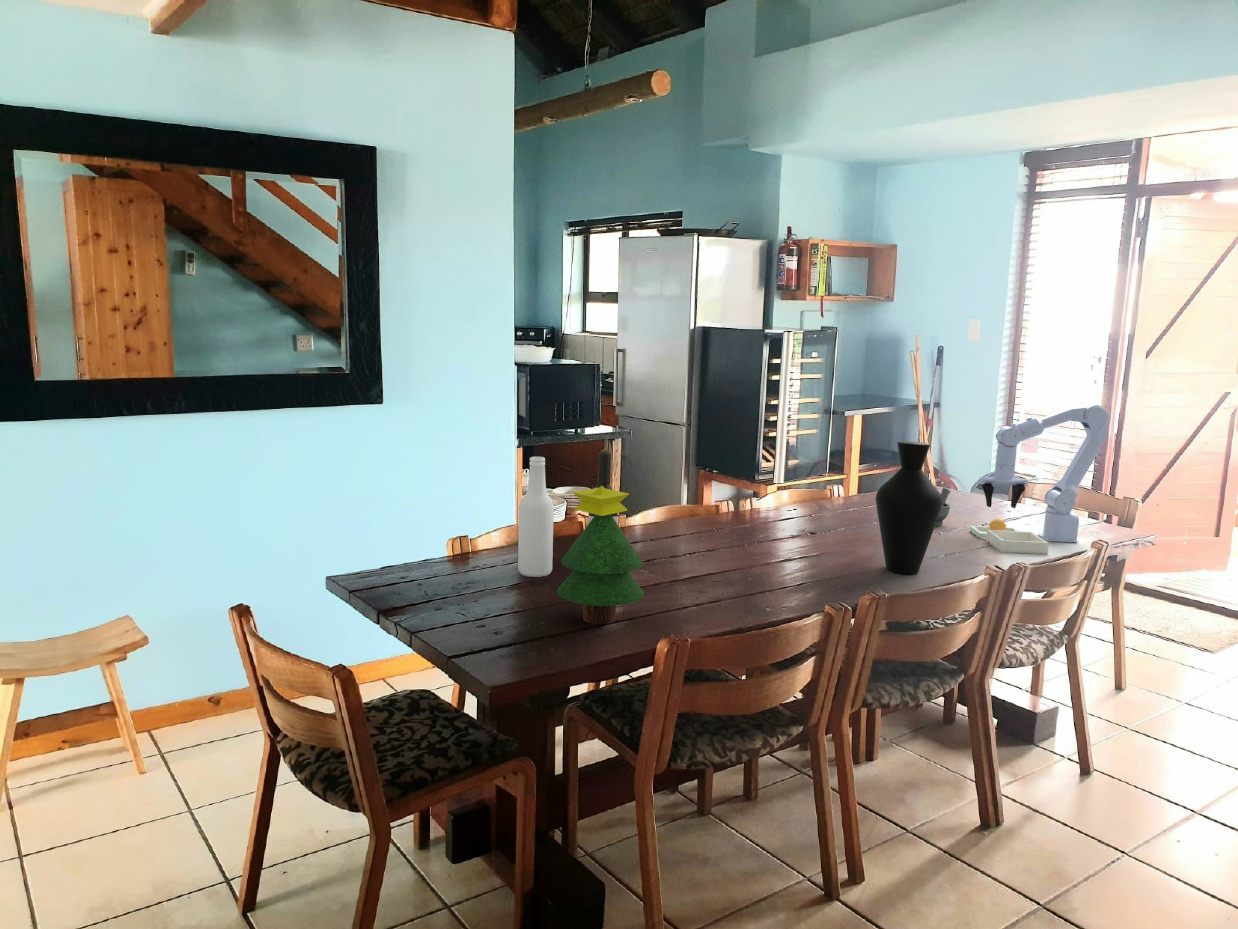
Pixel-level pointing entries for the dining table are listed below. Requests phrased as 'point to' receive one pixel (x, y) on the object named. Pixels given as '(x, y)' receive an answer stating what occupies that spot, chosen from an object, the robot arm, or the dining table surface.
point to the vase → (907, 511)
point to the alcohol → (536, 524)
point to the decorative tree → (601, 560)
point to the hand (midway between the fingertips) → (1000, 507)
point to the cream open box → (1017, 542)
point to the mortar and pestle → (943, 507)
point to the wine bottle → (604, 477)
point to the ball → (997, 525)
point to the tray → (984, 530)
